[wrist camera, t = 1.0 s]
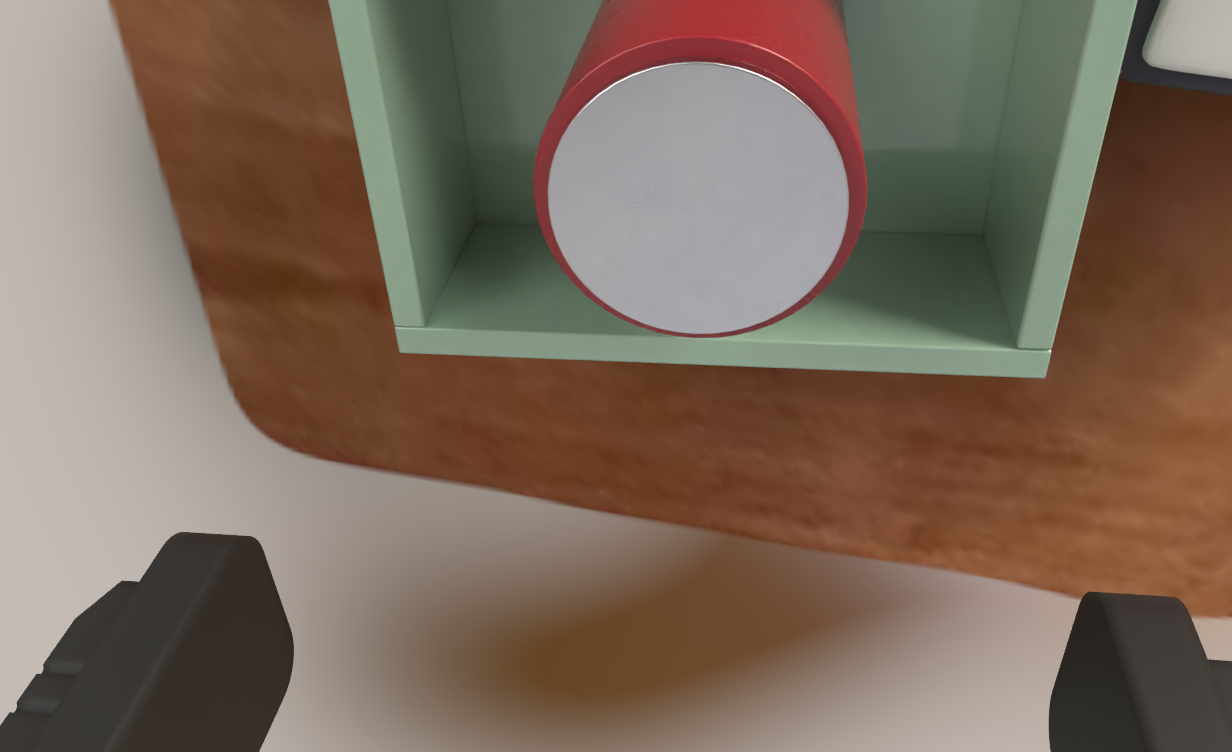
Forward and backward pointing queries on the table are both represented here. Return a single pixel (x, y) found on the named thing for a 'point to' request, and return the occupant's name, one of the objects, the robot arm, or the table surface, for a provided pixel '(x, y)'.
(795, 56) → the can
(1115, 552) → the table surface
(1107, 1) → the open box
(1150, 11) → the calculator
